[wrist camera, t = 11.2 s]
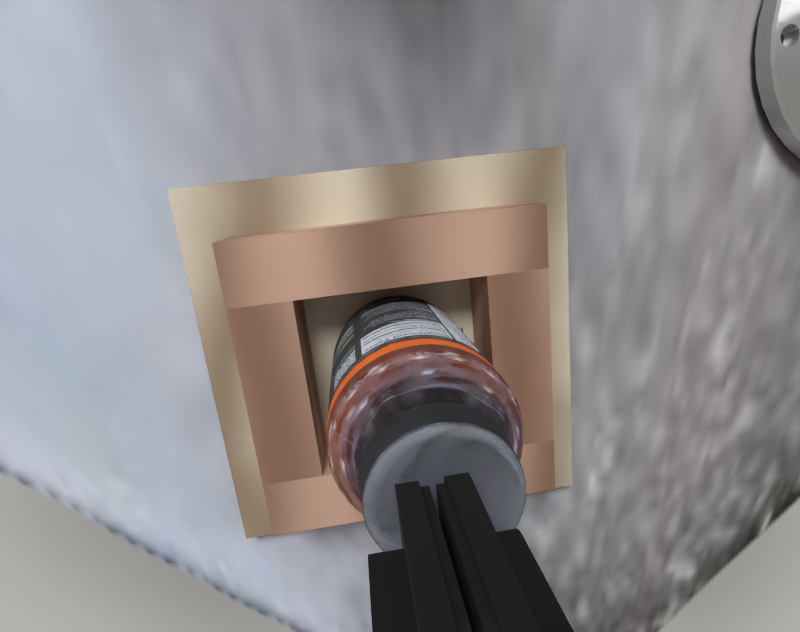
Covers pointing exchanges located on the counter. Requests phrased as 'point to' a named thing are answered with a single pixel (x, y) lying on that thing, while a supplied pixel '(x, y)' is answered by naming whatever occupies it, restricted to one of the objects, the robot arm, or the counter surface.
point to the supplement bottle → (419, 415)
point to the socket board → (366, 282)
